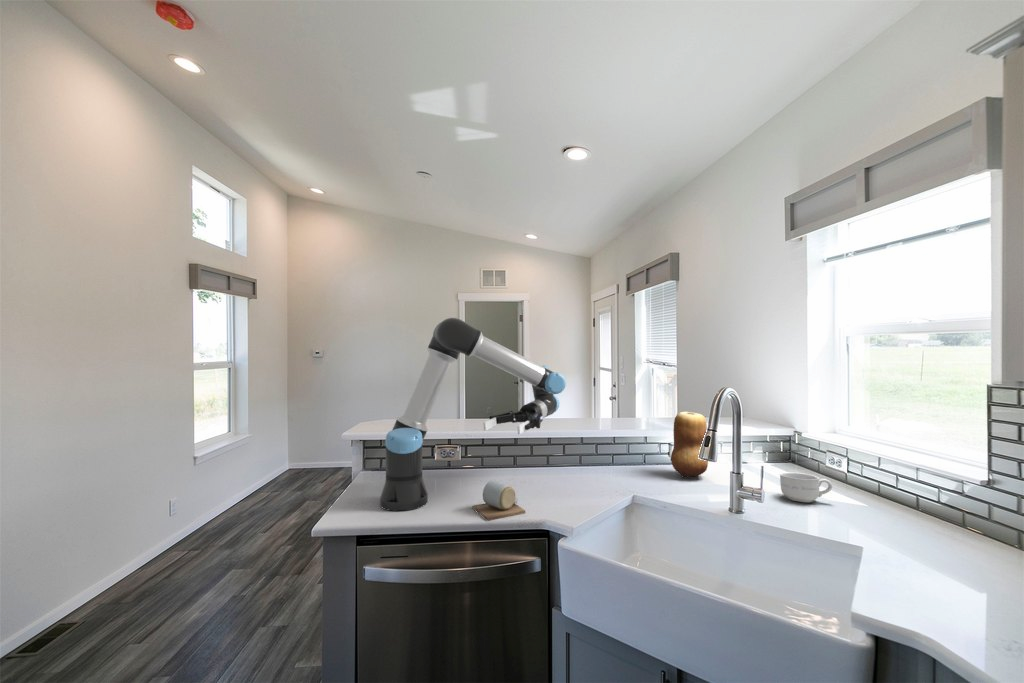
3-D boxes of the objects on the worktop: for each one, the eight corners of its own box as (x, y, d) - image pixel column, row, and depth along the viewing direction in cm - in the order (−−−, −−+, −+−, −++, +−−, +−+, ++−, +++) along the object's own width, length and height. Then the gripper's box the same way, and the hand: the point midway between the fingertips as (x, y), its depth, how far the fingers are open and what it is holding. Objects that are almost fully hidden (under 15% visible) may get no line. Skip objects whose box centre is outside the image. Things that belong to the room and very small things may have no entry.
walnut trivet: (472, 508, 135) (472, 505, 135) (508, 501, 141) (508, 499, 141) (487, 520, 125) (487, 517, 125) (525, 513, 130) (525, 510, 130)
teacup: (776, 500, 140) (776, 475, 140) (784, 492, 148) (783, 468, 148) (829, 510, 130) (828, 483, 131) (834, 501, 138) (833, 476, 139)
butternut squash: (708, 483, 158) (706, 415, 159) (669, 479, 164) (668, 413, 165) (708, 474, 171) (707, 410, 172) (672, 470, 176) (671, 409, 177)
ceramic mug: (500, 513, 128) (501, 487, 128) (481, 507, 133) (482, 482, 134) (524, 505, 136) (524, 480, 136) (505, 499, 141) (505, 475, 141)
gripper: (564, 425, 153) (534, 443, 135) (505, 419, 166) (472, 435, 149) (562, 404, 152) (533, 420, 135) (504, 400, 166) (470, 414, 148)
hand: (501, 428), depth 142 cm, fingers open, 13 cm apart
